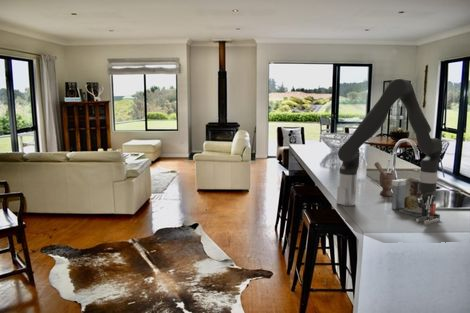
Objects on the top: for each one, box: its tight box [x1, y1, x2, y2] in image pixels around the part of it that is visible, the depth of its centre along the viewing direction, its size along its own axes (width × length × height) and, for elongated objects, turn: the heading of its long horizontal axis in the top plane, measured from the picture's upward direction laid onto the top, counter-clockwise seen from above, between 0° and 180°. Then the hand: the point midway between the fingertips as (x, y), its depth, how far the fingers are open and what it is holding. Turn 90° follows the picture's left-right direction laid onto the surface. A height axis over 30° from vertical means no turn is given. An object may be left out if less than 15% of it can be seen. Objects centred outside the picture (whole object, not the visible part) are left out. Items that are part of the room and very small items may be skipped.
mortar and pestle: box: [374, 161, 396, 197], centre depth 228 cm, size 12×9×20 cm
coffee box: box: [403, 177, 422, 214], centre depth 194 cm, size 9×6×16 cm
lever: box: [428, 202, 437, 220], centre depth 184 cm, size 2×2×8 cm
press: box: [391, 178, 441, 226], centre depth 192 cm, size 18×25×15 cm
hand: (424, 216), depth 181 cm, fingers closed
